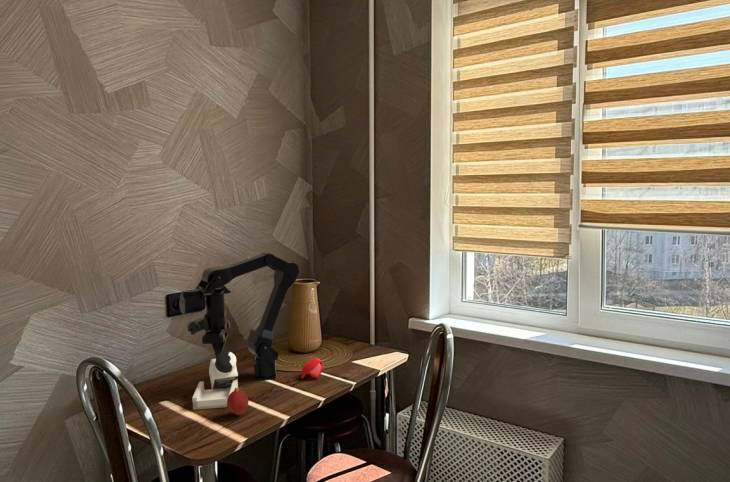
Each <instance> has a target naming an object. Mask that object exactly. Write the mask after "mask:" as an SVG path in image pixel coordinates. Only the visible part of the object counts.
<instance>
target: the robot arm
mask: <svg viewBox="0 0 730 482" xmlns="http://www.w3.org/2000/svg"><path fill="white" fill-rule="evenodd" d="M265 267H268V268H269V269H271V270H272V271H274V274H273V287H272V290H271V292H270V295H269V298H268V300H267V303H266V306H265V309H264V312H263V314H262V318H261V320H260V321H259V324H258V326H257V327H256V328H255V330H254V329H252V328H251V329H250V331H249V335H248V337H247V338H246V342H247V343H246V347H247V350H248V351H249V352H250V353H251V354H252V355H253V356H254V357H255V361H254V362H253V363H254V364H253V368H254V369H253V370H254V377H255V380H257V381H258V380H270V379H271V380H273V379H277V373H278V372H277V366H276V365H277V364H276V361H277V360H278V359H279V355H280V353H279V352H278V351H276V349H274V348H273V342H274V335H273V334H274V333H273V332H274V328H275V326H276V323H277V320H278V317H279V315H280V313H281V309H282V307H283V304H284V301H285V299H286V296H287V293H288V291H289V289H290V288H291V287H292V286H293V285H294V284H295V282H296V280H297V279H298V277H299V275H300V267H299V266H298V263H295V262H291V261H287V260H283V259H281V258H280V257H277V256H275V255H274V254H273V253H270V252H261V253H260V254H258V255H255V256H251V257H249V258H247V259H243V260H240V261H238V262H237V261H236V262H235V263H232V264H229V265H221V266H219V265H218V266H213V267H208V268H206V269H204V270H203V272H202V275H201V279H200V281H199V283H198V284H197V285H196V287H195V289H193V290H192V289H191V290H182V291H180V297H179V300H178V304H179V309H180V312H181V314H182V315H187V314H192V313H199V312H202V311H203V310H204V309H205V314H204V315H203V316H202V317H200V318H197V319H194V320H192V321H189V323H188V324H187V331H188V332H190V335H191V336H192V335H195V334H196V333H199V332H202V331H203V330H204V332H205V333H204V334H203V335H202V337H201V341H202V342H201V343H202V345H208V344H209V345H210V344H211V346H212V348H213V351H214V355H215V358H216V357H217V355H218V354H219V353H221V352H224V347H225V345H226V341H227V338H228V335H229V332H225V331H224V330H226V329H227V330H230V328H231V321H230V320H229V319H228V318H226V314H227V309H226V306H225V305H226V303H225V295H226V294H227V295H228V294H231V292H232V291H231V290H230V289H229V288H227V286H226V285H228V284H229V283H231V281H232V280H234V279H235V278H237V277H241V276H243V275H246V274H249V273H251V272H254V271H256V270H260V269H262V268H265Z"/></svg>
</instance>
